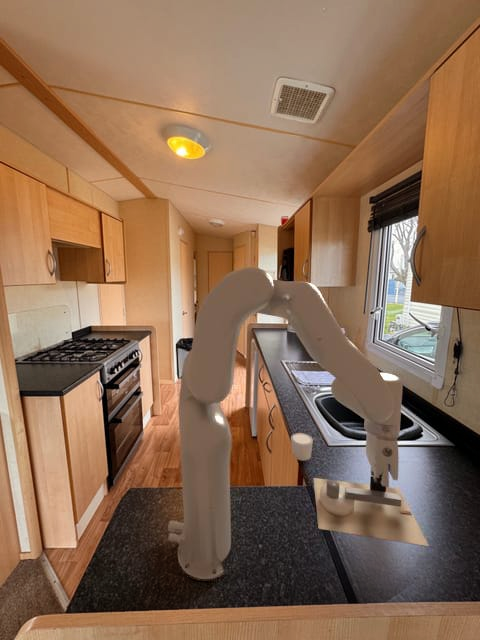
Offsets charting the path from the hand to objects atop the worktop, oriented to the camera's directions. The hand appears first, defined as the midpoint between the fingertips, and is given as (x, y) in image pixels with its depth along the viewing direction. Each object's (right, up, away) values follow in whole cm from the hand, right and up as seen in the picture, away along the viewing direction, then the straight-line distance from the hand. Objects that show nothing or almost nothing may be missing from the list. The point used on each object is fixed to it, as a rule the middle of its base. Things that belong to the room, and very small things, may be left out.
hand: (377, 493), depth 67 cm
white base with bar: (-6, -2, -2) cm, 6 cm away
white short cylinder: (-15, -1, +19) cm, 24 cm away
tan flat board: (-5, -4, -2) cm, 6 cm away
